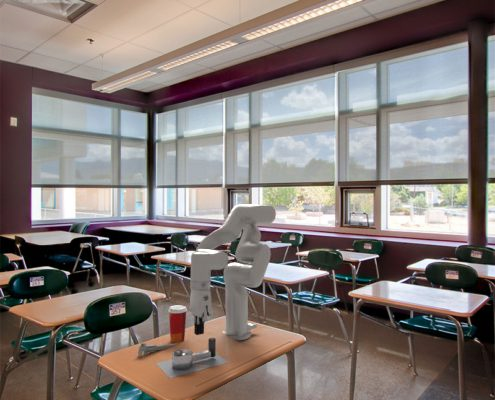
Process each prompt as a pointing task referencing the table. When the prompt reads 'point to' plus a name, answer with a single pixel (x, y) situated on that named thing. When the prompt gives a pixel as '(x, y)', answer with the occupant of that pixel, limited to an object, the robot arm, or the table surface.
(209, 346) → the metal crank handle
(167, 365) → the stand
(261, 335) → the table surface
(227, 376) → the table surface
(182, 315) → the paper cup
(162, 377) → the table surface
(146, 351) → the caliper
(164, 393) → the table surface
